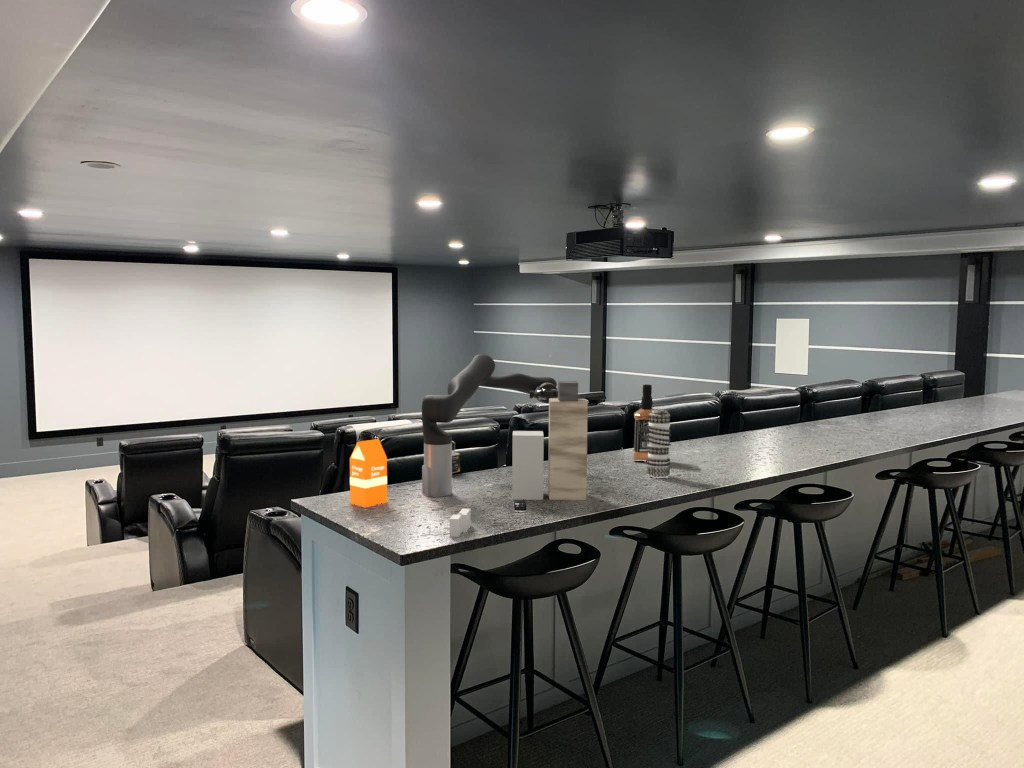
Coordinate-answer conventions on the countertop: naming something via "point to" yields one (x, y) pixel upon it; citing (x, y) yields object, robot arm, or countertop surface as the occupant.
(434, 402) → the robot arm
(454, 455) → the medicine bottle
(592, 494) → the countertop surface
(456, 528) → the napkin holder
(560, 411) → the stand
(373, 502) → the orange juice
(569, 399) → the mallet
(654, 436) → the decorative candle
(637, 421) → the whiskey bottle
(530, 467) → the tall white pillar block
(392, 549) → the countertop surface
